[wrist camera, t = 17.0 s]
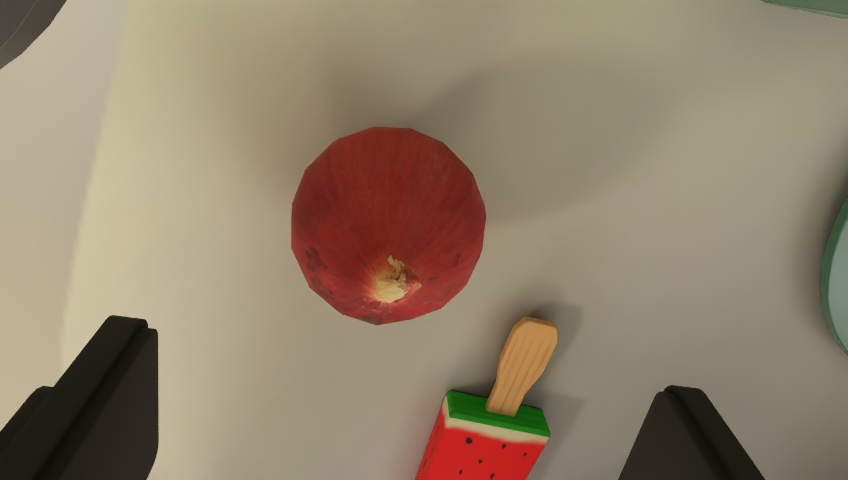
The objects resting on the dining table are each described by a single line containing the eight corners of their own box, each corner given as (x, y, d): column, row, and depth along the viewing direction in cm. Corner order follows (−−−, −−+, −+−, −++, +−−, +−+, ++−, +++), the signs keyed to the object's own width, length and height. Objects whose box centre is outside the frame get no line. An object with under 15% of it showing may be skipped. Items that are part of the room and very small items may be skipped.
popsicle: (598, 345, 23) (472, 586, 30) (587, 323, 25) (468, 559, 31) (490, 319, 23) (383, 573, 29) (484, 299, 24) (383, 545, 30)
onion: (427, 274, 23) (445, 420, 16) (284, 221, 22) (235, 356, 15) (495, 140, 21) (552, 241, 14) (340, 73, 20) (316, 146, 13)
